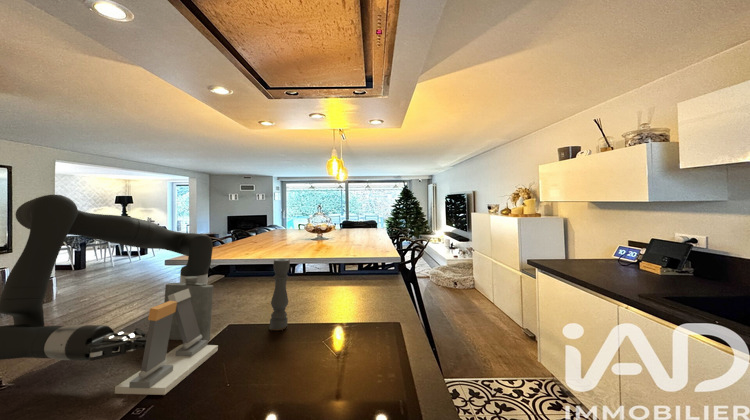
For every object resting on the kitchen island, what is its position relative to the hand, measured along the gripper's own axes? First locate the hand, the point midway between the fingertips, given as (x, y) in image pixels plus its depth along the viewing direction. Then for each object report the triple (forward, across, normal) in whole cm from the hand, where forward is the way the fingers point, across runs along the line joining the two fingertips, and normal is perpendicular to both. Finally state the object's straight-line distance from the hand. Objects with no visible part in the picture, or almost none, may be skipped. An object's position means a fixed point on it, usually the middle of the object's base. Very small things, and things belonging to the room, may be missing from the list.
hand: (154, 343), depth 67 cm
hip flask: (-9, +26, +10) cm, 30 cm away
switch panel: (0, +8, +10) cm, 12 cm away
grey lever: (0, +15, +6) cm, 16 cm away
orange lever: (0, 0, +6) cm, 6 cm away
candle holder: (+17, +38, +10) cm, 43 cm away
